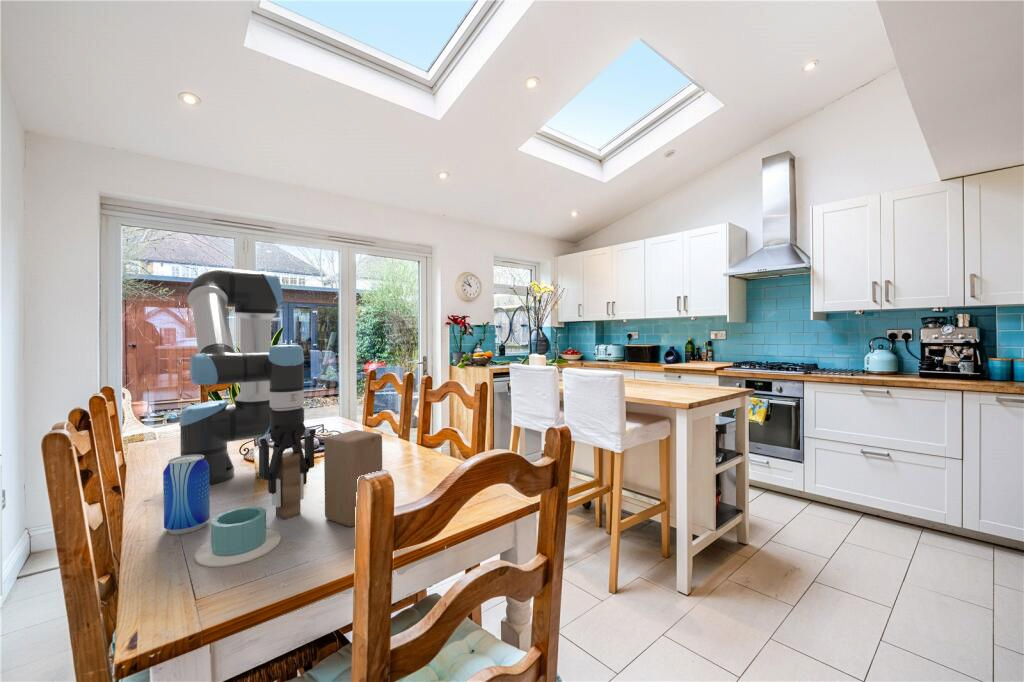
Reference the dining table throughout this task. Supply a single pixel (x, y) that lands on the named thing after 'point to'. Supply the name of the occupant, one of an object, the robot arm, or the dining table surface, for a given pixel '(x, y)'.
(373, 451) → the wooden block
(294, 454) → the tall brown block
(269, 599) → the dining table surface
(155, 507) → the dining table surface
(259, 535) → the teal cup on saucer
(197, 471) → the beer can
